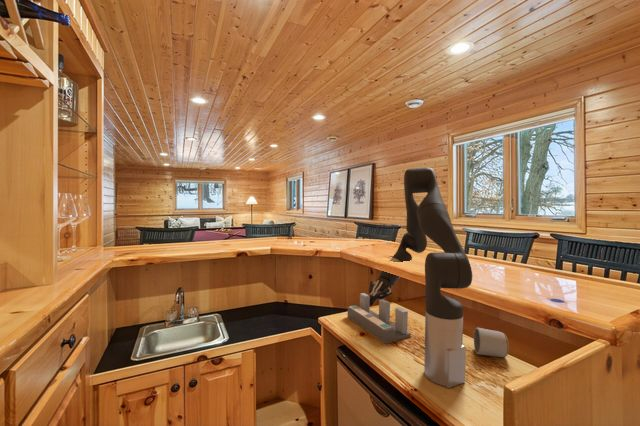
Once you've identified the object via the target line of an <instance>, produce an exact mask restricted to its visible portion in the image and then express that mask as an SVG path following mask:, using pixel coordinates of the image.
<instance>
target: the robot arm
mask: <svg viewBox="0 0 640 426" xmlns="http://www.w3.org/2000/svg"><path fill="white" fill-rule="evenodd" d="M403 187H404V188H403V189H404V198H405V199H404V201H405V209H406V226H405V227H406V233H404V235H403V236H402V238H401V241H400V243H399V246H398V248H397V250H396V252H395V253H394V255H393V256H392V257H391V259H389V261H393V262H403V261H410V260H411V261H413V256H412V254H411V253H410V252H409V251H408V250H411V251H412V252H415V253H417V254H422V253H423V252H425V250H426V249H427V246H428V240H427V239H428V238H429V239H430V240H431V241H432V242H434V243H435V244H436V245H437V246H438V247H439V248H440V249H441V250H442V251H443V252H429V253H428V254H426V256H425V260H424V280H425V281H424V282H425V283H424V284H425V290H424V291H425V294H424V295H425V314H424V315H425V322H424V323H425V324H424V367H423V368H424V369H423V370H424V372H423V373H424V375H425V377H426V378H427V379H428V380H429V381H431V382H432V383H435V384H437V385H440V386H442V387H443V386H444V387H445V388H447V389H451V388H454V387H456V386H460V385H462V384H464V383H466V363H467V362H466V357H467V355H466V353H467V346H466V345H464V344H463V339H464V338H463V337H464V336H463V335H464V334H463V332H464V331H463V330H464V306H463V304H462V303H461V302H460V301H458V300H456V299H454V298H451V297H449V296H446V295H444V294H443V293H442V292H441V291H442V290H441V289H456V290H457V289H460V290H461V289H467V288H469V287H470V286H471V284H472V281H473V271H472V270H473V269H472V267H471V263H470V260H469V258H468V255H467V254H466V252H465V249H464V248H463V246H462V243H461V242H460V240H459V238H458V236H457V233H456V232H455V228H454V227H453V223H452V220H451V217H450V213H449V212H448V209H447V207H446V205H445V202H444V200H443V197H442V195H441V194H442V193H441V191H440V186H439V183H438V180H437V176H436V172H435V170H434V169H433V168H432V167H416V168H407V169H406V170H405V172H404V174H403ZM420 193H421V194H423V193H427V194H426V196H425V197H424V198H423V199H422V200H421V201H420V203H419V204H418V203H417V202H416V199H415V197H414V194H420ZM407 249H408V250H407ZM378 276H379V277H378V278H377V279H376V280H375V281H370V282H369V287H368V288H369V289H368V293H369V294H370V295H369V296H370V307H372V306H373V305H374V304H375V302H376V301H377V300H382V299H385V298H386V297H387V298H388V296H390V295H392V294H393V292H392V290H391V289H392V287H393V286H395V285H396V283H397V282H398V280H399V279H400V278H401V277H399V276H396V275H393V274H390V273H387V272H384V271H382V270H381V271H380V272H379V274H378Z"/></svg>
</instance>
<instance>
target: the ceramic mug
mask: <svg viewBox="0 0 640 426" xmlns="http://www.w3.org/2000/svg"><path fill="white" fill-rule="evenodd" d="M473 347H474V350H475V353H476V355H480V356H481V355H482V356H487V357H495V358H506V357H507V356H508V355H509V350H510V343H509V339H508V337H507V335H506V333H504V332H501V331H499V330H492V329H486V328H482V327H476V328H475V329H474V332H473Z"/></svg>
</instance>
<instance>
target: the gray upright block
mask: <svg viewBox="0 0 640 426" xmlns="http://www.w3.org/2000/svg"><path fill="white" fill-rule="evenodd" d="M378 315H379V320H381V321H383V322H384V323H389V322H391V302H390V301H388V300H386V299H385V298H383V299H381V300H380V299H378Z"/></svg>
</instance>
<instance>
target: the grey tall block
mask: <svg viewBox="0 0 640 426" xmlns="http://www.w3.org/2000/svg"><path fill="white" fill-rule="evenodd" d="M394 310H395V311H394V313H395V314H394V315H395V317H394V324H395V329H396V330H397V331H399V332H401V333H402V334H404V333H407V332H408V323H409V322H408V316H409V315H408V313H409V311H408V310H406V309H404V308H402V307H396V308H394Z"/></svg>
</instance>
